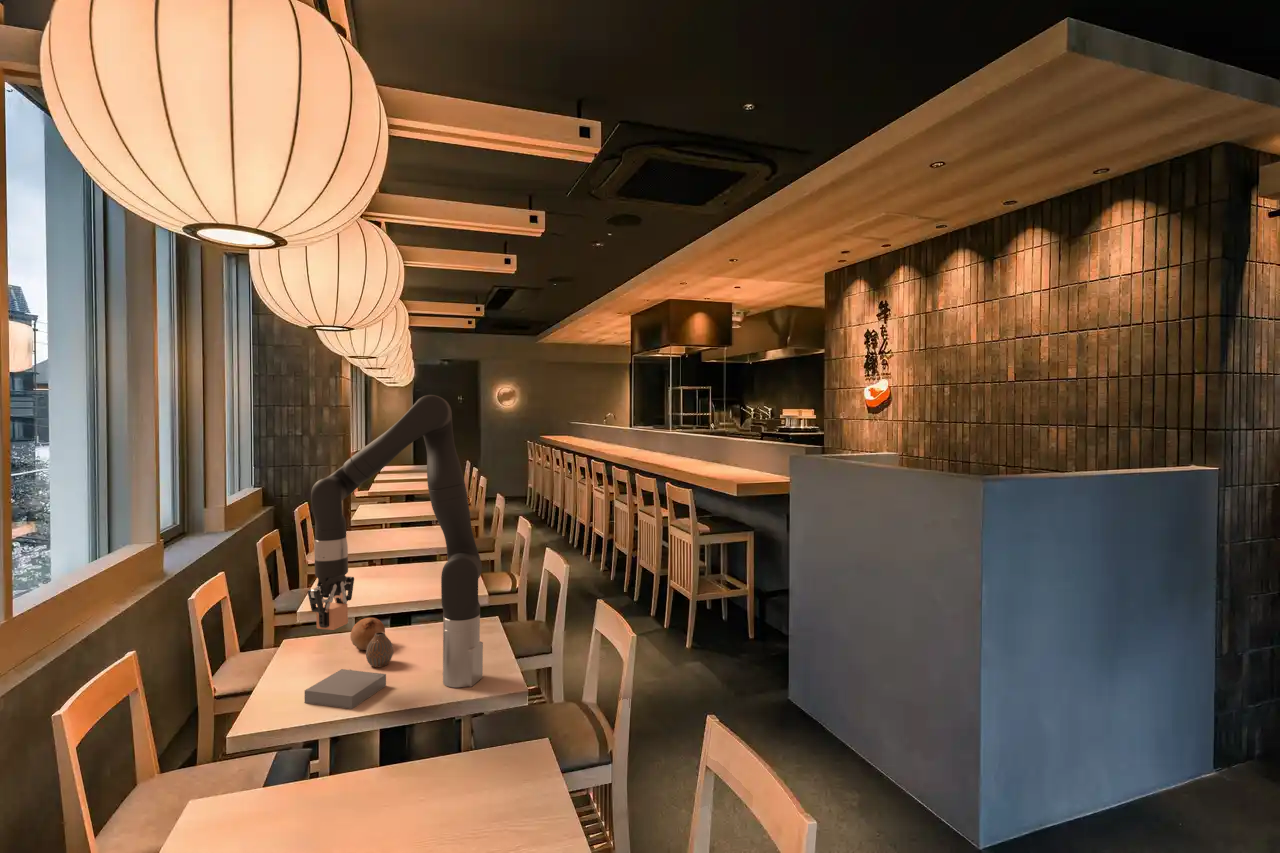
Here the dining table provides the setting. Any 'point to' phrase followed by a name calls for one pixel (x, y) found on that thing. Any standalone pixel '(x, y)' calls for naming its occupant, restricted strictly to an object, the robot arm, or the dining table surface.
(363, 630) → the brown round piece
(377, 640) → the vase
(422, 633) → the dining table surface
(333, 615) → the block
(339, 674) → the block
